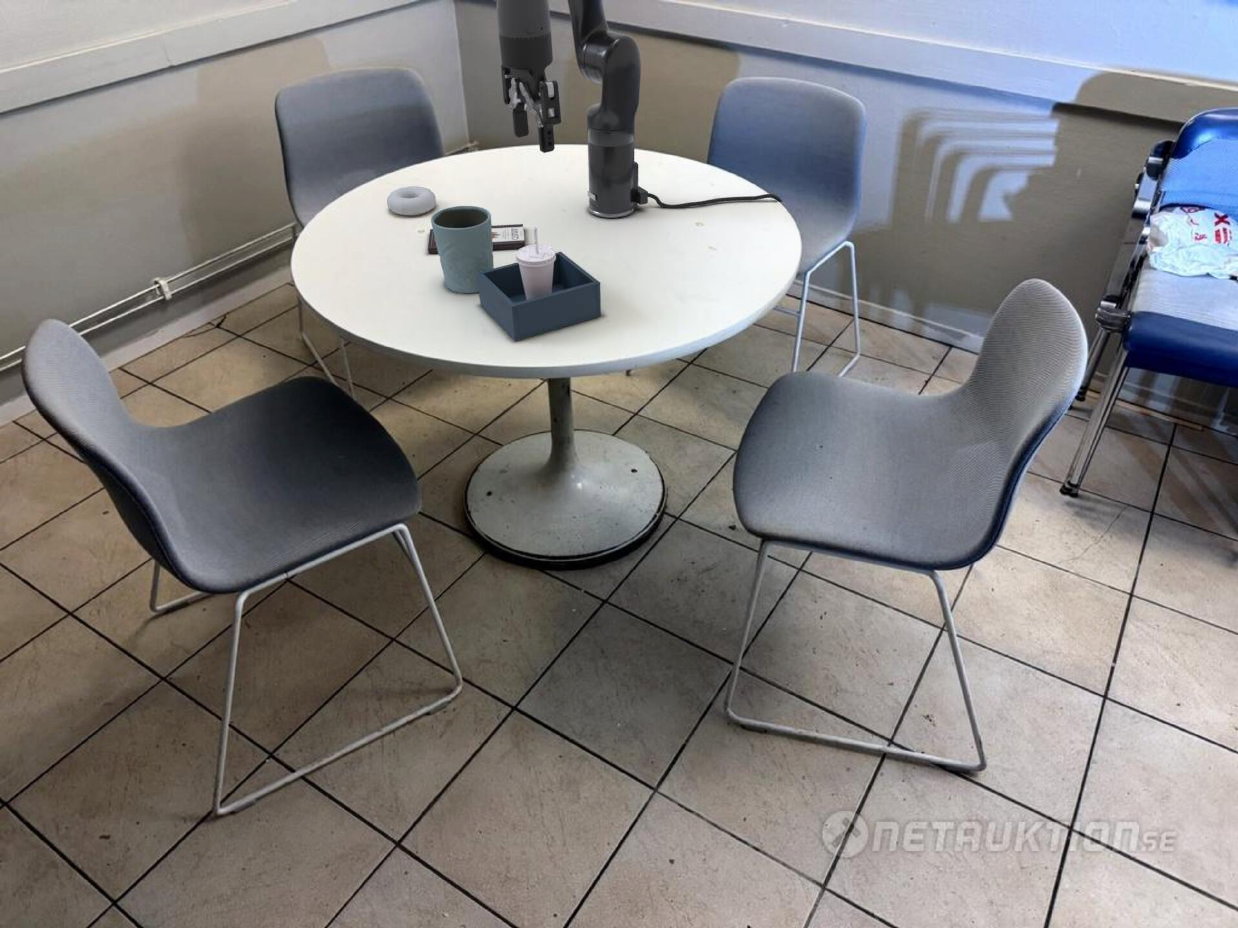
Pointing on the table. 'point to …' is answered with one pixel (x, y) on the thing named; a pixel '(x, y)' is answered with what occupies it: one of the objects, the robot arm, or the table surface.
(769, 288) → the table surface
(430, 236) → the chocolate bar
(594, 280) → the basin
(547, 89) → the robot arm
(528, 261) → the smoothie
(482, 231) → the blue-green cup
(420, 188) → the donut
